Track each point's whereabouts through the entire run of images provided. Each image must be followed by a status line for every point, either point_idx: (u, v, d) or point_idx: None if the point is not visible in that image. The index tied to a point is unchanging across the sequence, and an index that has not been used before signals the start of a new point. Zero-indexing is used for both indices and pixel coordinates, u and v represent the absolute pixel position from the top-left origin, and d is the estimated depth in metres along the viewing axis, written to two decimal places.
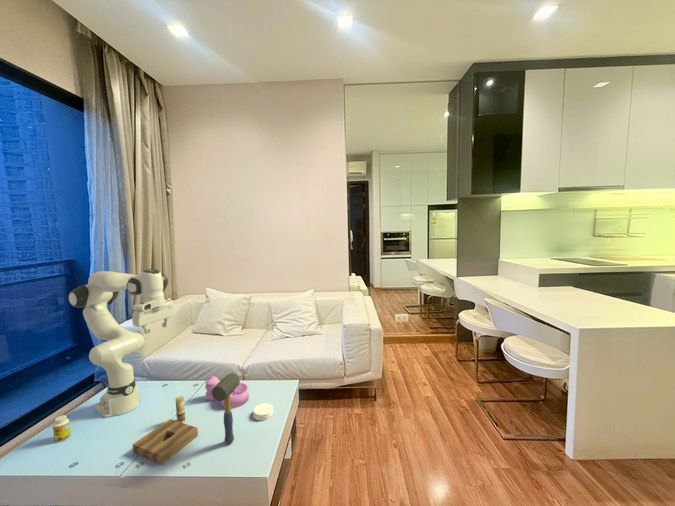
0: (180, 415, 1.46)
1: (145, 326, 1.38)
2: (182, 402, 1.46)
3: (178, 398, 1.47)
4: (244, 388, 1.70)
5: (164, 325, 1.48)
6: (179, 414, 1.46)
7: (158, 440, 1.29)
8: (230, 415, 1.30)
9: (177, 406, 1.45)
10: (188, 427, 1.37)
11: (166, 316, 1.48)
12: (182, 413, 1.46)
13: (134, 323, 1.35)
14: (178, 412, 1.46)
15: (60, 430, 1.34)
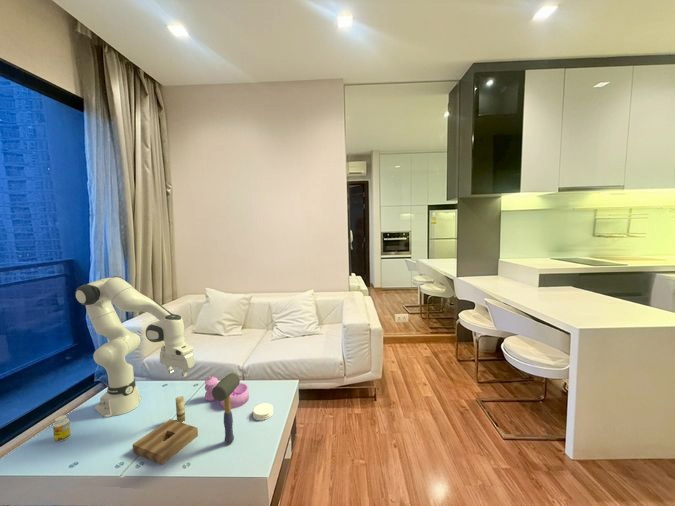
0: (180, 415, 1.46)
1: None
2: (182, 402, 1.46)
3: (178, 398, 1.47)
4: (244, 388, 1.69)
5: (172, 370, 1.48)
6: (179, 414, 1.46)
7: (158, 440, 1.29)
8: (230, 415, 1.30)
9: (177, 406, 1.45)
10: (188, 427, 1.37)
11: None
12: (182, 413, 1.46)
13: (190, 365, 1.41)
14: (178, 412, 1.46)
15: (60, 430, 1.34)
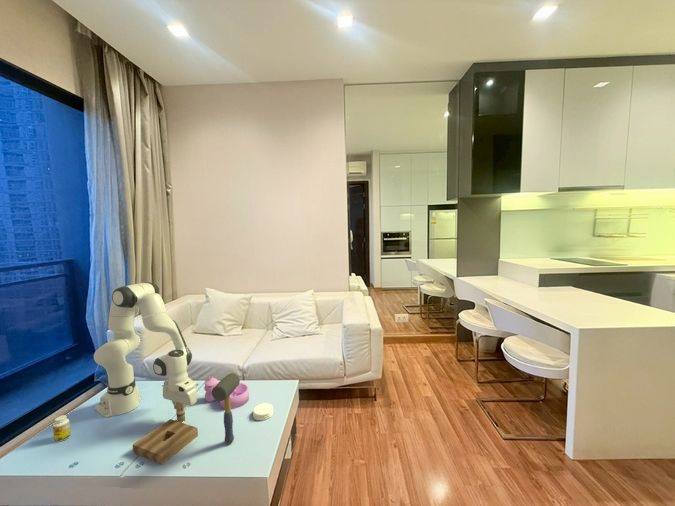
0: (180, 415, 1.46)
1: None
2: None
3: None
4: (244, 388, 1.69)
5: None
6: (179, 414, 1.46)
7: (158, 440, 1.29)
8: (230, 415, 1.30)
9: (177, 406, 1.45)
10: (188, 427, 1.37)
11: None
12: (182, 413, 1.46)
13: (193, 401, 1.42)
14: (178, 412, 1.46)
15: (60, 430, 1.34)
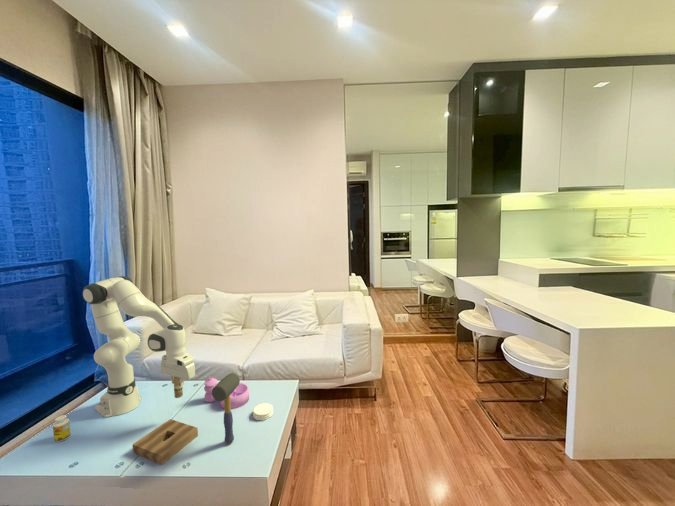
0: (178, 390, 1.45)
1: None
2: None
3: None
4: (244, 388, 1.69)
5: None
6: (177, 389, 1.45)
7: (158, 440, 1.29)
8: (230, 415, 1.30)
9: (175, 381, 1.44)
10: (188, 427, 1.37)
11: None
12: (180, 388, 1.45)
13: (191, 376, 1.41)
14: (176, 387, 1.45)
15: (60, 430, 1.34)
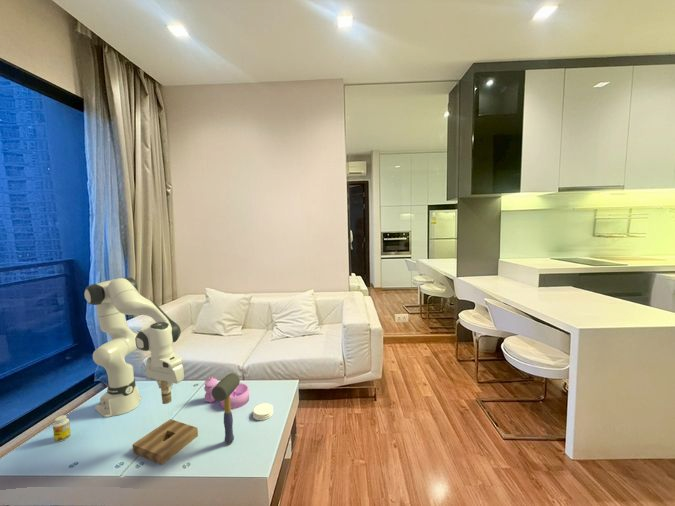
0: (166, 395, 1.31)
1: None
2: None
3: None
4: (244, 388, 1.69)
5: None
6: (164, 394, 1.30)
7: (158, 440, 1.29)
8: (230, 415, 1.30)
9: (162, 385, 1.30)
10: (188, 427, 1.37)
11: None
12: (168, 392, 1.31)
13: (179, 378, 1.27)
14: (163, 391, 1.30)
15: (60, 430, 1.34)
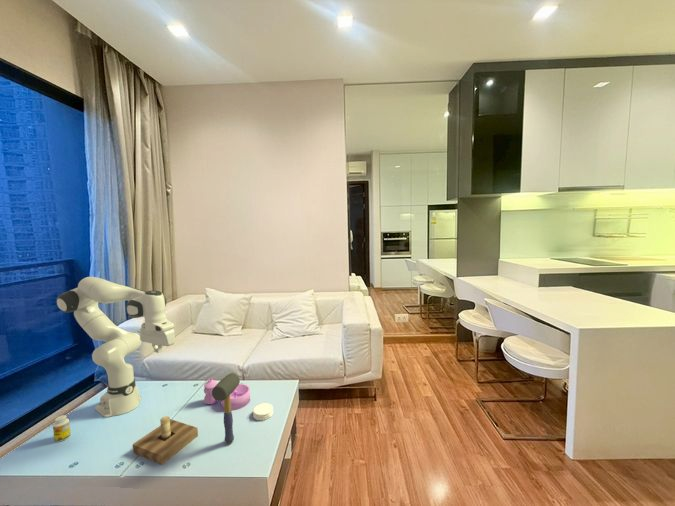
0: (166, 438, 1.30)
1: None
2: (168, 423, 1.31)
3: (163, 418, 1.31)
4: (244, 389, 1.69)
5: None
6: (164, 437, 1.30)
7: (158, 440, 1.29)
8: (230, 415, 1.30)
9: (162, 428, 1.30)
10: (188, 427, 1.37)
11: None
12: (168, 435, 1.31)
13: (170, 342, 1.38)
14: (163, 434, 1.30)
15: (60, 430, 1.34)
